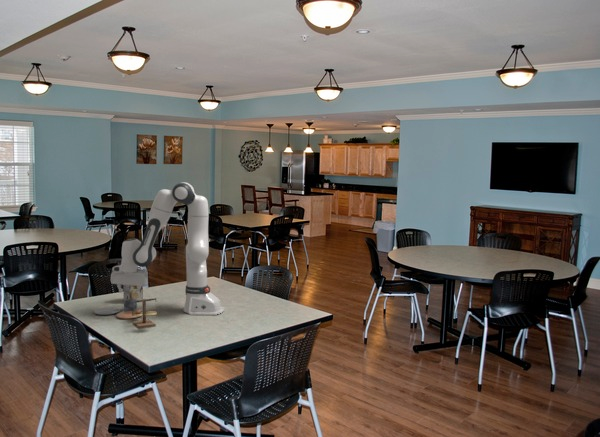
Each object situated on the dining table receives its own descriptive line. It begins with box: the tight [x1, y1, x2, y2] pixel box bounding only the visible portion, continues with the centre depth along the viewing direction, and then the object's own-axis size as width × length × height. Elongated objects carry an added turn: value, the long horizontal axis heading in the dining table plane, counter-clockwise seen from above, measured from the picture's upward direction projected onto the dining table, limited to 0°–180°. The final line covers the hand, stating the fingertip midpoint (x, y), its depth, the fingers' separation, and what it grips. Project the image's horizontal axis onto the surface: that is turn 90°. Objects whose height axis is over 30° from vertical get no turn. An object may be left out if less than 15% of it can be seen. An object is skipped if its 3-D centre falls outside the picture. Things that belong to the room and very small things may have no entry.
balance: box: [132, 297, 158, 330], centre depth 258 cm, size 23×8×15 cm, turn 37°
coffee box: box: [122, 285, 144, 301], centre depth 303 cm, size 9×6×16 cm
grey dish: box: [93, 306, 121, 316], centre depth 280 cm, size 13×13×1 cm
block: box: [123, 298, 138, 312], centre depth 285 cm, size 5×5×6 cm
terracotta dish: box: [116, 310, 141, 320], centre depth 274 cm, size 13×13×1 cm
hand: (129, 293), depth 284 cm, fingers open, 8 cm apart
